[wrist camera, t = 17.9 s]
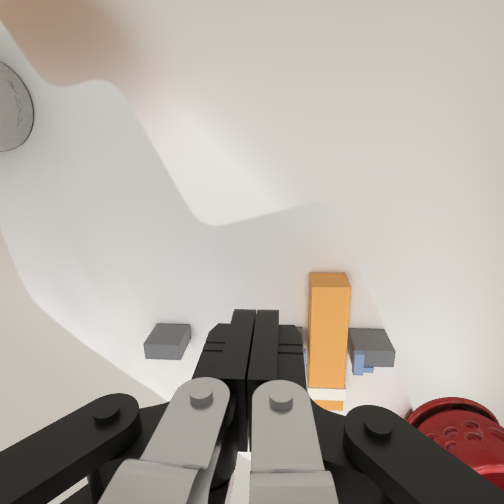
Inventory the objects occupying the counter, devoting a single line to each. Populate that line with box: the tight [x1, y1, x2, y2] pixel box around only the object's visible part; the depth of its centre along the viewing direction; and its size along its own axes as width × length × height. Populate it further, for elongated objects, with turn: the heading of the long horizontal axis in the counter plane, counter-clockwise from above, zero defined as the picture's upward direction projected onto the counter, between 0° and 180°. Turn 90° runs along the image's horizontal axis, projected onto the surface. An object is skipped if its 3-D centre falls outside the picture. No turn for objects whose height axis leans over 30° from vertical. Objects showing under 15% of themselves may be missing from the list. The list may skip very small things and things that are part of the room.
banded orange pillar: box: [306, 273, 351, 411], centre depth 40 cm, size 4×16×4 cm, turn 2°
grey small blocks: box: [144, 324, 395, 375], centre depth 40 cm, size 28×3×5 cm, turn 91°
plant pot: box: [407, 397, 504, 491], centre depth 39 cm, size 13×13×12 cm
